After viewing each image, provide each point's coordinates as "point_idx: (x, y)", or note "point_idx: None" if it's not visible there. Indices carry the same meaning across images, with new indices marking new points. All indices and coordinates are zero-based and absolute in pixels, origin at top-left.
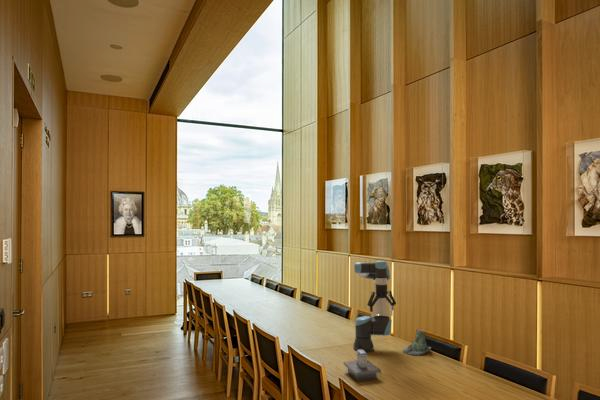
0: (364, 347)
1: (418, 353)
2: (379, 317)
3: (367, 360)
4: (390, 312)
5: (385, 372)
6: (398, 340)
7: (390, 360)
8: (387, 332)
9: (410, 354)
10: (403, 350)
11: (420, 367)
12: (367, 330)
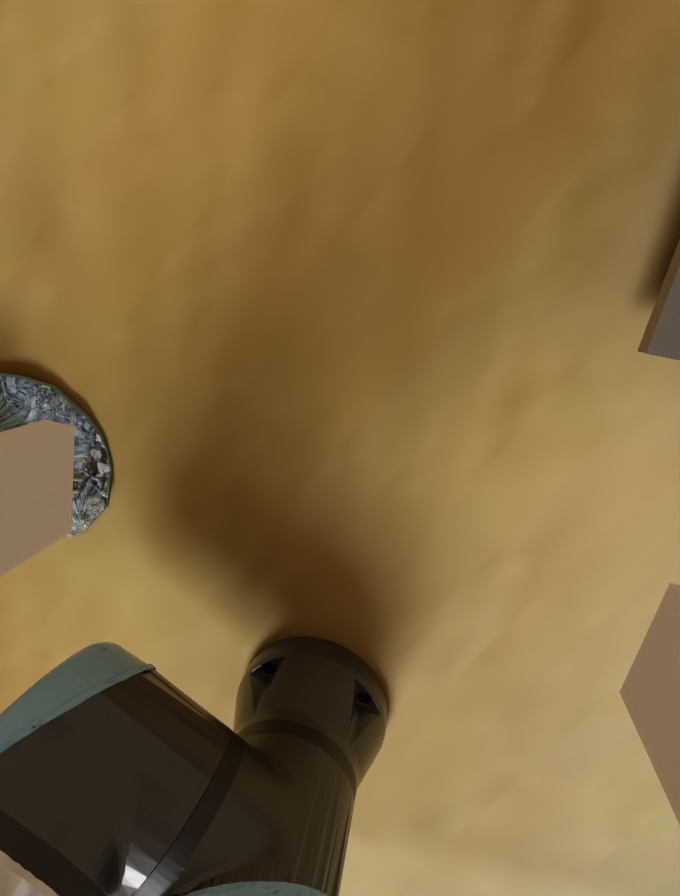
0: (343, 674)
1: (40, 394)
2: (67, 860)
3: (664, 321)
4: (8, 516)
5: (537, 189)
6: (7, 686)
7: (302, 408)
8: (117, 653)
9: (95, 427)
10: (92, 517)
11: (195, 152)
12: (273, 784)
